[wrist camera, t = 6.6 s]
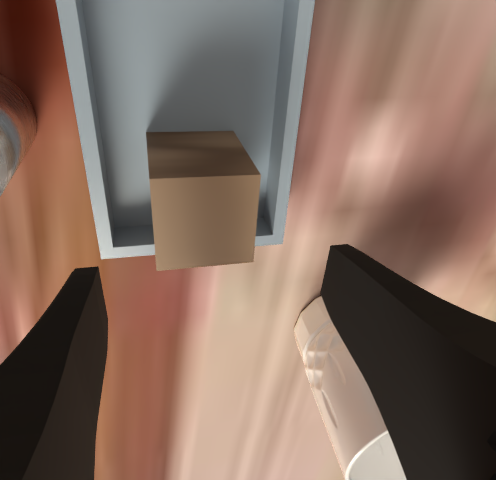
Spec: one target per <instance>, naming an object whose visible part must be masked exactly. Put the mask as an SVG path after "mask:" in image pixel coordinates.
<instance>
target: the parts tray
mask: <svg viewBox="0 0 496 480" xmlns="http://www.w3.org/2000/svg"><path fill="white" fill-rule="evenodd" d="M56 4H57V10H58V16H59V21H60V27H61V33H62V38H63V44H64V50H65V56H66V61H67V67H68V73H69V78H70V84H71V90H72V95H73V101H74V107H75V112H76V118H77V124H78V129H79V135H80V141H81V147H82V152H83V158H84V164H85V169H86V175H87V181H88V186H89V192H90V198H91V203H92V209H93V215H94V220H95V226H96V232H97V237H98V243H99V249H100V255H101V259H109V258H121V257H133V256H145V255H155V245H154V232H153V220H152V207H151V195H150V182H149V169H148V155H147V141H146V132H190V131H234V133H235V134H236V136H237V137H238V139H239V141H240V142H241V144H242V145H243V147H244V149H245V150H246V152H247V153H248V155H249V156H250V158H251V160H252V161H253V163H254V164H255V166H256V168H257V169H258V171H259V172H260V174H261V180H260V191H259V202H258V214H257V225H256V237H255V246H264V245H276V244H283V238H284V230H285V223H286V215H287V208H288V200H289V193H290V185H291V177H292V170H293V162H294V155H295V147H296V140H297V132H298V125H299V117H300V109H301V102H302V94H303V87H304V79H305V72H306V64H307V56H308V49H309V41H310V34H311V26H312V19H313V11H314V4H315V0H56Z"/></svg>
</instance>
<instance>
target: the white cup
mask: <svg viewBox="0 0 496 480" xmlns="http://www.w3.org/2000/svg"><path fill="white" fill-rule="evenodd" d="M294 333H295V338H296V343H297V346H298V349H299V352H300V354H301V357H302V359H303V362H304V368H305V372H306V375H307V377H308V380H309V382H310V386H311V389H312V392H313V395H314V398H315V401H316V403H317V406H318V409H319V411H320V414H321V417H322V419H323V422H324V425H325V427H326V430H327V433H328V435H329V438H330V441H331V444H332V446H333V449H334V452H335V454H336V457H337V460H338V462H339V465H340V468H341V471H342V473H343V476H344V479H345V480H407V479H406V477H405V474H404V471H403V469H402V466H401V463H400V461H399V458H398V455H397V453H396V450H395V447H394V445H393V442H392V440H391V437H390V435H389V433H388V430H387V428H386V425H385V423H384V420H383V418H382V416H381V413H380V411H379V409H378V407H377V404H376V402H375V400H374V398H373V395H372V393H371V391H370V389H369V387H368V385H367V383H366V381H365V379H364V377H363V375H362V373H361V372H360V370H359V368H358V366H357V365H356V363H355V361H354V360H353V358H352V356H351V354H350V353H349V351H348V349H347V347H346V346H345V344H344V342H343V341H342V339H341V337H340V335H339V333H338V332H337V330H336V328H335V326H334V325H333V323H332V321H331V319H330V317H329V314H328V312H327V309H326V307H325V304H324V302H323V299H322V296H320V297H318V298H316V299H315V300H314V301H312V302H311V303H310V304H309V305H308V306H307V307H306V308H305V309H304V310H303V311H302V312H301V314H300V316H299V318H298V321H297V323H296V325H295V328H294Z"/></svg>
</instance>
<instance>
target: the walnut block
mask: <svg viewBox="0 0 496 480" xmlns="http://www.w3.org/2000/svg"><path fill="white" fill-rule="evenodd" d="M146 141H147V155H148V169H149V182H150V195H151V207H152V220H153V232H154V245H155V257H156V270H157V271H161V270H172V269H183V268H194V267H205V266H216V265H227V264H237V263H248V262H253V259H254V248H255V237H256V225H257V214H258V202H259V191H260V180H261V174H260V172H259V171H258V169H257V168H256V166H255V164H254V163H253V161H252V160H251V158H250V156H249V155H248V153H247V152H246V150H245V149H244V147H243V145H242V144H241V142H240V141H239V139H238V137H237V136H236V134H235V133H234V131H190V132H146Z"/></svg>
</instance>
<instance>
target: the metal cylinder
mask: <svg viewBox="0 0 496 480" xmlns="http://www.w3.org/2000/svg"><path fill="white" fill-rule="evenodd" d="M36 131H37V121H36V115H35V112H34V109H33V107H32V105H31V103H30V101H29V99H28V98H27V96H26V95H25V94H24V92H23V91H22V90H21V89H20V88H19V87H18V86H17V85H16V84H15V83H13V82H12V81H11V80H10V79H8V78H7V77H5V76H4V75H2V74H0V196H1V195H2V193H3V191H4V190H5V188H6V186H7V185H8V183H9V181H10V180H11V178H12V176H13V175H14V173H15V171H16V170H17V168H18V166H19V165H20V163H21V161H22V160H23V158H24V156H25V155H26V153H27V151H28V150H29V148H30V146H31V145H32V143H33V141H34V139H35V136H36Z"/></svg>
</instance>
